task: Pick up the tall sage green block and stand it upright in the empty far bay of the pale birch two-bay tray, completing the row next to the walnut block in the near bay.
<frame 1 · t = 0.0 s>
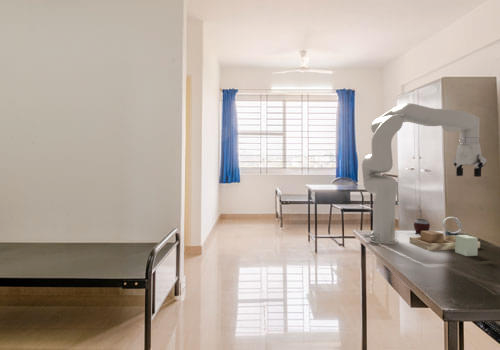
hand: (468, 176, 138), 31 cm above the table, tool pointing down, fingers open, 9 cm apart
sage block: (465, 256, 112), on the table
walnut block: (431, 245, 123), point 1 cm above the table, touching slot tray
watch: (452, 239, 138), on the table
mate gourd: (420, 235, 146), on the table
slot tray: (443, 247, 124), on the table
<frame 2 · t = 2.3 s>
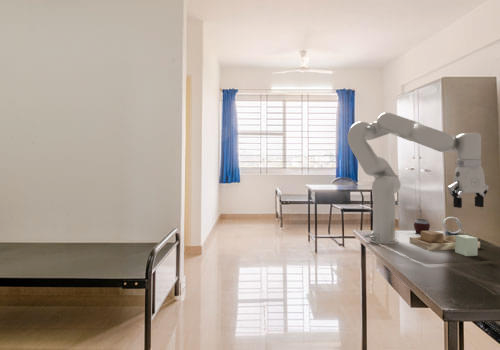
hand: (468, 207, 111), 20 cm above the table, tool pointing down, fingers open, 9 cm apart
nothing on the table moved.
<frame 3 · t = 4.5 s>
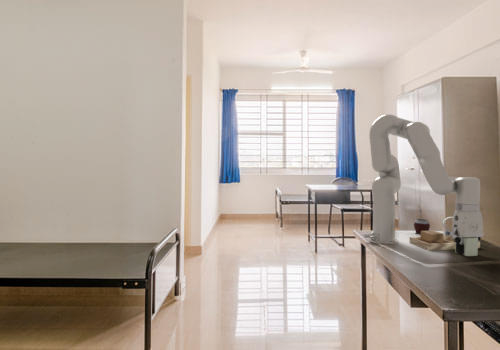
hand: (466, 252, 112), 1 cm above the table, tool pointing down, fingers closed on sage block, 5 cm apart
sage block: (466, 256, 112), on the table, touching gripper
everything else where it was.
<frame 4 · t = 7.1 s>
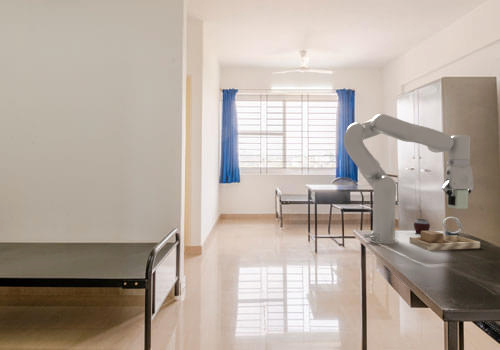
hand: (457, 204, 122), 19 cm above the table, tool pointing down, fingers closed on sage block, 5 cm apart
sage block: (457, 207, 122), point 18 cm above the table, touching gripper
everything else where it was.
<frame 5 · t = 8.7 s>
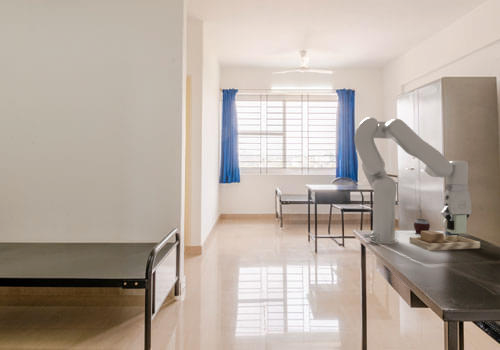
hand: (456, 228, 124), 8 cm above the table, tool pointing down, fingers closed on sage block, 5 cm apart
sage block: (456, 231, 124), point 7 cm above the table, touching gripper
everything else where it was.
when the fingers open (4 cm above the table, at t = 9.9 s): sage block drops 1 cm, resting on slot tray.
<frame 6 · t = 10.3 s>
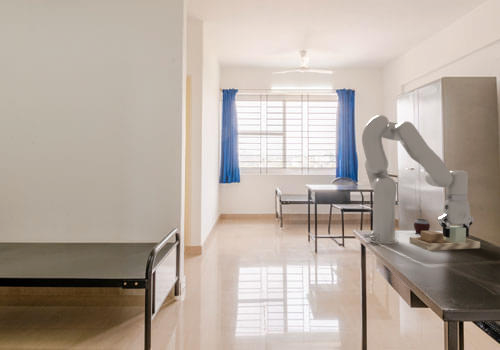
hand: (455, 236, 124), 5 cm above the table, tool pointing down, fingers open, 9 cm apart
sage block: (455, 244, 124), point 1 cm above the table, touching slot tray
everything else where it was.
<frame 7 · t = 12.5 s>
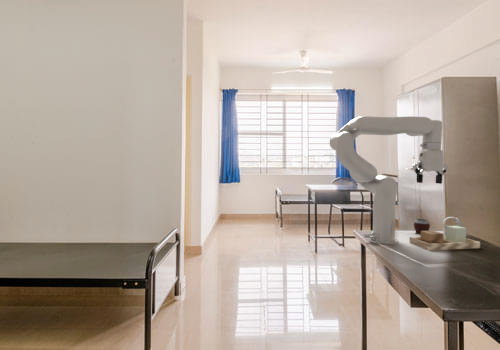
hand: (429, 183, 132), 28 cm above the table, tool pointing down, fingers open, 9 cm apart
nothing on the table moved.
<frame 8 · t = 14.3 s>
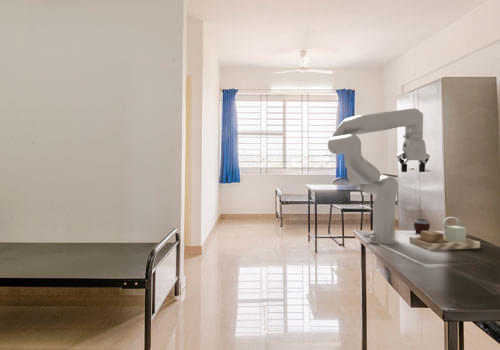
hand: (413, 172, 138), 33 cm above the table, tool pointing down, fingers open, 9 cm apart
nothing on the table moved.
at the end: sage block 0.1 cm from the target spot on the slot tray, point 1.0 cm above the slot tray's base; sage block tilted 0°; the gripper is holding nothing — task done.
